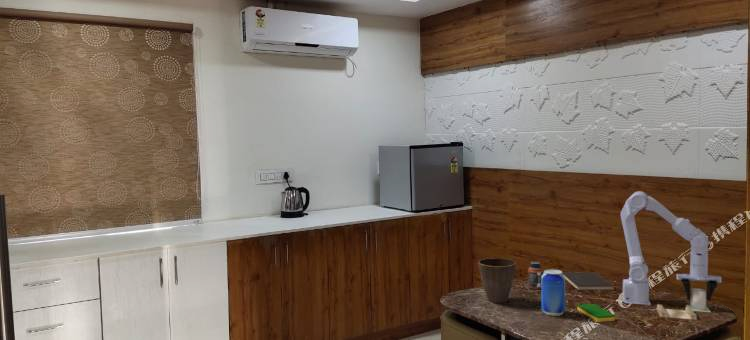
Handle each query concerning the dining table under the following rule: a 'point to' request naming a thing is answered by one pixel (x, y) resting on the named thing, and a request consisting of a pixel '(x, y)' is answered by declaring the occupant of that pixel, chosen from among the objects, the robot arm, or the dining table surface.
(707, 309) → the mat
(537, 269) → the supplement bottle
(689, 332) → the dining table surface
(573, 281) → the hardcover book
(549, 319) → the dining table surface
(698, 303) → the white domed cylinder
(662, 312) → the cradle
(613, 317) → the dish sponge
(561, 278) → the beer can
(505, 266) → the plant pot
